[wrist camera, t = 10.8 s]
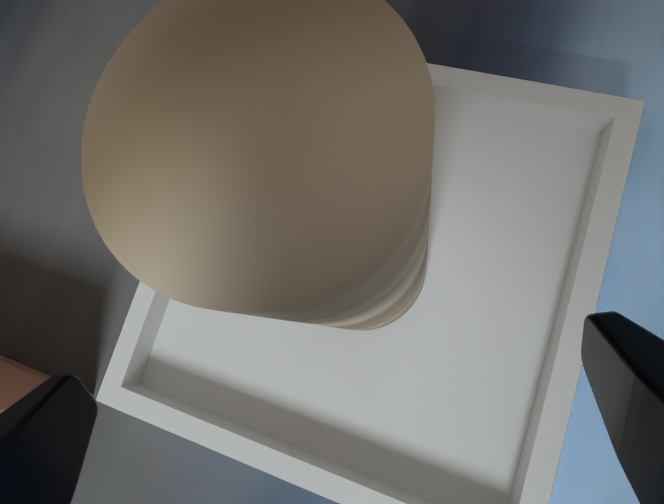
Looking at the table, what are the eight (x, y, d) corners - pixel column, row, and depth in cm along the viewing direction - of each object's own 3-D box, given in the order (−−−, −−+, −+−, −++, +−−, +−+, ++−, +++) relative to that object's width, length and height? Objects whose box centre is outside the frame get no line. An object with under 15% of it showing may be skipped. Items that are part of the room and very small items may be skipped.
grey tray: (623, 124, 17) (645, 100, 16) (517, 556, 15) (529, 583, 14) (248, 54, 21) (232, 29, 19) (125, 394, 19) (95, 400, 17)
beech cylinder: (454, 271, 17) (523, 127, 5) (352, 357, 17) (206, 396, 6) (368, 178, 18) (277, -99, 7) (273, 258, 18) (24, 123, 7)
